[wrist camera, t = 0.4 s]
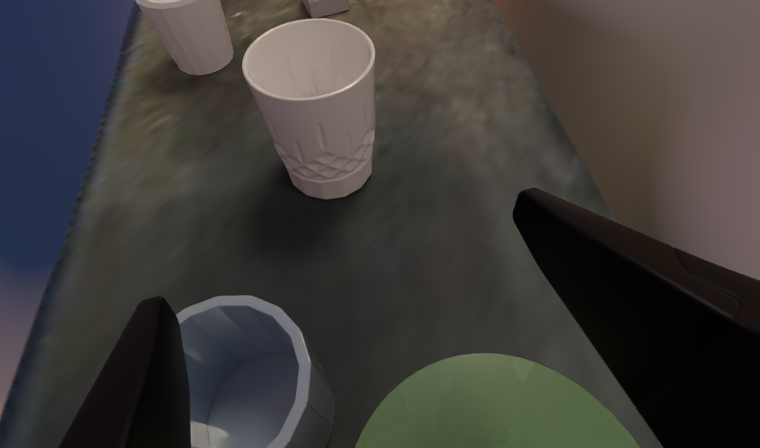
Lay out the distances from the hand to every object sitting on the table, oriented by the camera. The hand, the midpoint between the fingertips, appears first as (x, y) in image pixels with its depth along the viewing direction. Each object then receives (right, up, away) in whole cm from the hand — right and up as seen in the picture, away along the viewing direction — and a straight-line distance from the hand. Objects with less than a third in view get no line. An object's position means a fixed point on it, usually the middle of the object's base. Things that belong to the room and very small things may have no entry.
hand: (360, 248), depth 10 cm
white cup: (-3, +5, +23) cm, 23 cm away
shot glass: (-17, +17, +31) cm, 40 cm away
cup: (-6, -10, +13) cm, 17 cm away
